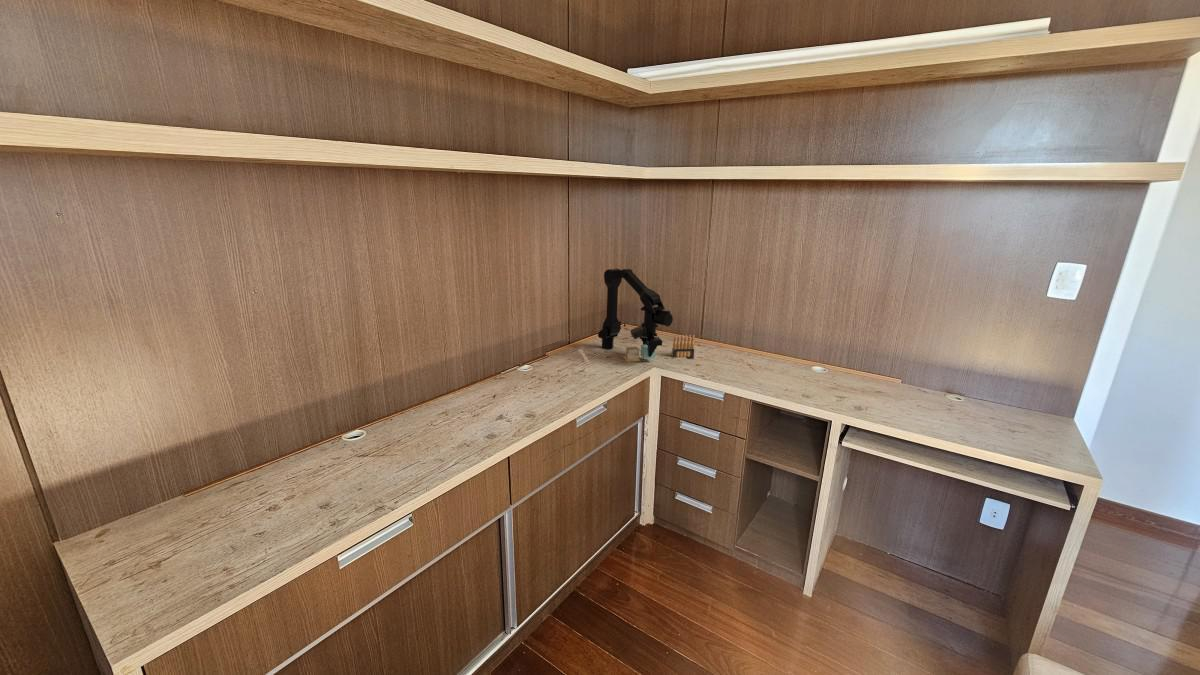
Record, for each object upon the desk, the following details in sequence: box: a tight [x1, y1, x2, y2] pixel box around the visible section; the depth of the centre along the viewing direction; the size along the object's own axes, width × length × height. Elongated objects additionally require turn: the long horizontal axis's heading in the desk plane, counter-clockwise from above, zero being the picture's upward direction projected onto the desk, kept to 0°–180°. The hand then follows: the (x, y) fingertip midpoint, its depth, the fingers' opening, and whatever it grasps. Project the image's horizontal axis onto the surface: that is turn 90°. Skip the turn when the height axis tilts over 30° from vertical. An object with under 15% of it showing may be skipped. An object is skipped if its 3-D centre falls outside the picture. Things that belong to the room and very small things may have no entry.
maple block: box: [624, 346, 640, 362], centre depth 229 cm, size 5×5×5 cm
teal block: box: [640, 344, 656, 360], centre depth 226 cm, size 5×5×5 cm
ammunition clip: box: [670, 334, 695, 360], centre depth 234 cm, size 11×2×12 cm, turn 101°
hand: (647, 354), depth 226 cm, fingers closed on teal block, 5 cm apart
